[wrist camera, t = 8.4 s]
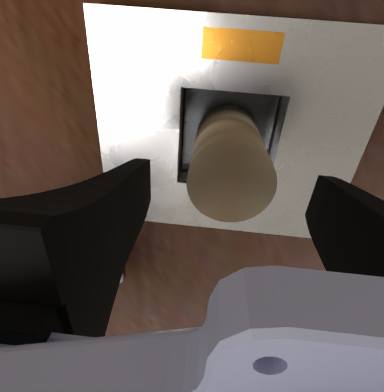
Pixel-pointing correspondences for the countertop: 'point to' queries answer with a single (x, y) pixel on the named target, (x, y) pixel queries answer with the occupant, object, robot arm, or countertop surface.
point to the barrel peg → (230, 167)
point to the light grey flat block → (234, 99)
